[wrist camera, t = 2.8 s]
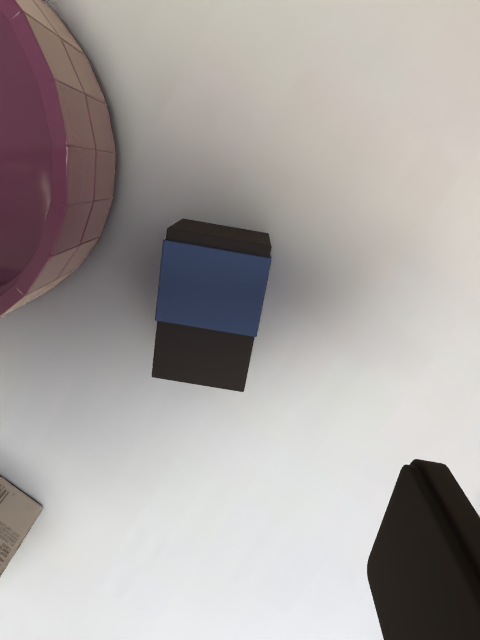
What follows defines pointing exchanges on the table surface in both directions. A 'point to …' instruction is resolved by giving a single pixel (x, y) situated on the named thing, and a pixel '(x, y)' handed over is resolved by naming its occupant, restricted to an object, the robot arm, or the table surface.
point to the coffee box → (14, 520)
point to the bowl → (48, 153)
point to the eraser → (209, 303)
